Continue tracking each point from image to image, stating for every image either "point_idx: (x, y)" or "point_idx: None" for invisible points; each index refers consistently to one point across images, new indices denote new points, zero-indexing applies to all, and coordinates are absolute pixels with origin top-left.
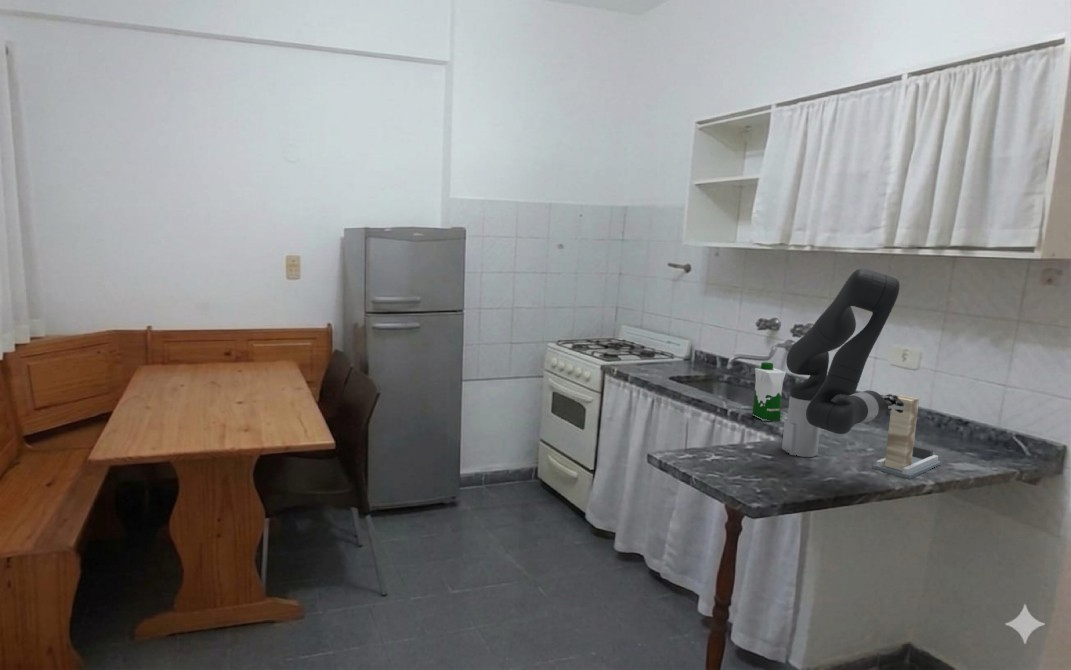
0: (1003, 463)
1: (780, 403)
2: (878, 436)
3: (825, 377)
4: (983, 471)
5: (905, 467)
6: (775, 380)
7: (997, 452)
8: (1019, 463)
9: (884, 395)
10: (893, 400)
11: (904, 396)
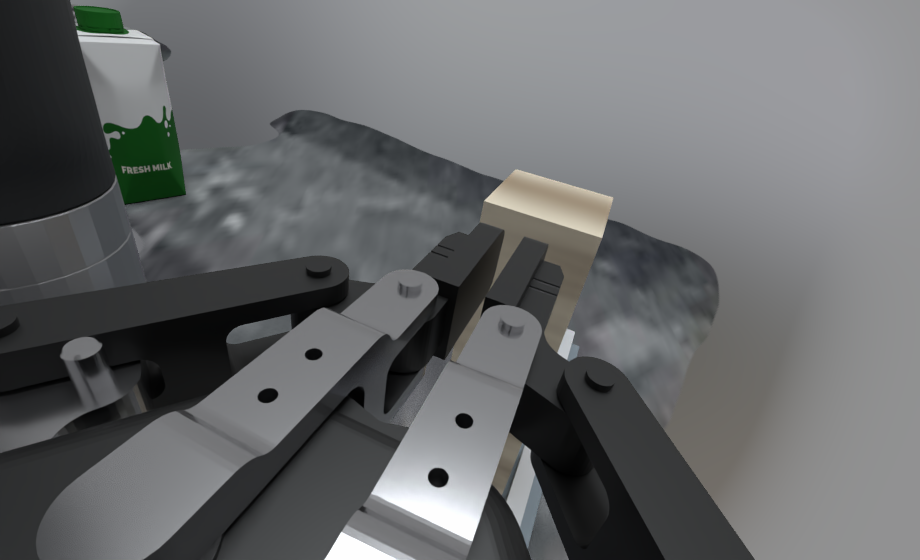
0: (675, 296)
1: (170, 147)
2: (422, 228)
3: (1, 38)
4: (670, 359)
5: (509, 504)
6: (119, 72)
7: (640, 248)
8: (696, 287)
9: (436, 271)
10: (551, 402)
11: (539, 182)
